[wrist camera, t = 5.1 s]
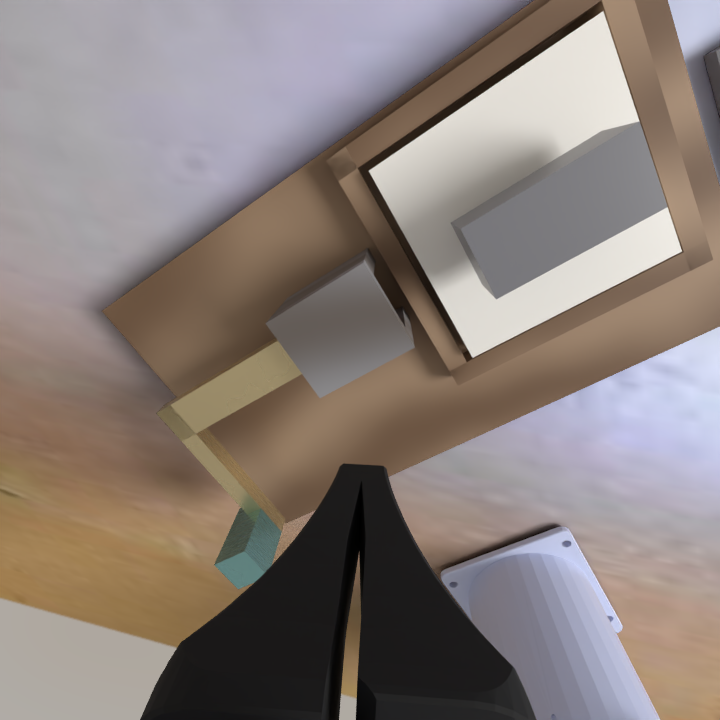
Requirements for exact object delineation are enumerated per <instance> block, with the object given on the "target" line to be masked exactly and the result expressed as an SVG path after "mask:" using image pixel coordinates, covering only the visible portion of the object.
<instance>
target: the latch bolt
mask: <svg viewBox="0 0 720 720" xmlns="http://www.w3.org/2000/svg"><path fill="white" fill-rule="evenodd" d="M301 374H302V373H301V372H300V370H299V369H298V368H297V366H296V365H295V363H294V362H293V361H292V359H291V358H290V357H289V355H288V354H287V352H286V351H285V350H284V348H283V347H282V346H281V344H280V343H279V341H278V340H277V339H276V338H275V339H273V340H271V341H270V342H268V343H266V344H265V345H263V346H261V347H260V348H258V349H256V350H255V351H253V352H251V353H250V354H248V355H246V356H245V357H243V358H241V359H240V360H238V361H236V362H235V363H233V364H231V365H230V366H228V367H226V368H225V369H223V370H221V371H220V372H218V373H216V374H215V375H213V376H211V377H210V378H208V379H206V380H205V381H203V382H201V383H200V384H198V385H196V386H195V387H193V388H191V389H190V390H188V391H187V392H185V393H183V394H182V395H180V396H178V397H177V398H175V399H173V400H172V401H170V402H168V403H167V404H165V405H164V406H163V407H162V408H161V409H160V410H159V411H158V412H157V413H156V414H157V415H158V416H159V417H160V418H161V419H162V420H163V421H164V422H165V424H166V425H167V426H168V427H169V428H170V429H171V430H172V431H173V432H174V434H175V435H176V436H177V437H178V438H179V439H180V440H181V441H182V442H183V444H184V445H185V446H186V447H187V448H188V449H189V450H190V451H191V453H192V454H193V455H194V456H195V457H196V458H197V459H198V460H199V461H200V463H201V464H202V465H203V466H204V467H205V468H206V469H207V470H208V471H209V473H210V474H211V475H212V476H213V477H214V478H215V479H216V480H217V481H218V483H219V484H220V485H221V486H222V487H223V488H224V489H225V490H226V491H227V493H228V494H229V495H230V496H231V497H232V498H233V499H234V500H235V501H236V503H237V504H238V505H239V506H240V507H241V508H240V509H239V511H238V514H237V516H236V518H235V520H234V522H233V525H232V527H231V529H230V531H229V533H228V536H227V538H226V540H225V542H224V544H223V547H222V549H221V551H220V553H219V556H218V558H217V560H216V562H215V564H214V565H215V566H216V567H217V568H218V569H219V570H220V571H221V572H222V573H223V574H224V575H225V576H226V577H227V578H228V579H229V580H230V581H231V582H232V583H233V584H234V585H235V586H236V587H237V588H238V589H240V588H242V587H244V586H247V585H249V584H252V583H254V582H256V581H257V580H258V579H259V578H260V577H261V576H262V575H263V574H264V573H265V572H266V571H267V570H268V569H269V568H270V567H271V565H272V562H273V559H274V555H275V552H276V549H277V545H278V542H279V539H280V535H281V532H282V529H283V525H284V522H285V518H284V517H283V515H282V514H281V513H280V512H279V511H278V510H277V508H276V507H275V506H274V505H273V504H272V503H271V501H270V500H269V499H268V498H267V497H266V496H265V495H264V493H263V492H262V491H261V490H260V489H259V488H258V486H257V485H256V484H255V483H254V482H253V481H252V479H251V478H250V477H249V476H248V475H247V474H246V472H245V471H244V470H243V469H242V468H241V467H240V465H239V464H238V463H237V462H236V461H235V460H234V459H233V457H232V456H231V455H230V454H229V453H228V452H227V450H226V449H225V448H224V447H223V446H222V445H221V443H220V442H219V441H218V440H217V439H216V438H215V436H214V435H213V434H212V433H211V432H210V431H209V429H208V428H207V427H209V426H210V425H212V424H214V423H216V422H218V421H219V420H221V419H223V418H225V417H226V416H228V415H230V414H232V413H234V412H235V411H237V410H239V409H241V408H243V407H244V406H246V405H248V404H250V403H251V402H253V401H255V400H257V399H259V398H260V397H262V396H264V395H266V394H267V393H269V392H271V391H273V390H275V389H276V388H278V387H280V386H282V385H283V384H285V383H287V382H289V381H291V380H292V379H294V378H296V377H298V376H299V375H301Z"/></svg>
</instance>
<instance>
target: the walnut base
mask: <svg viewBox="0 0 720 720" xmlns="http://www.w3.org/2000/svg"><path fill="white" fill-rule="evenodd" d="M601 12H604V15H605V18H606V21H607V24H608V27H609V30H610V33H611V36H612V39H613V42H614V45H615V48H616V51H617V54H618V57H619V61H620V64H621V67H622V70H623V73H624V76H625V79H626V82H627V85H628V88H629V91H630V94H631V97H632V100H633V103H634V106H635V109H636V112H637V115H638V119H639V121H640V124H641V127H642V130H643V133H644V136H645V139H646V142H647V145H648V148H649V151H650V154H651V157H652V160H653V163H654V166H655V169H656V173H657V176H658V179H659V182H660V185H661V188H662V191H663V194H664V197H665V200H666V203H667V206H668V210H669V213H670V216H671V219H672V222H673V225H674V228H675V231H676V235H677V238H678V241H679V244H680V247H681V250H682V252H680V253H678V254H676V255H674V256H672V257H670V258H668V259H666V260H664V261H662V262H660V263H658V264H656V265H654V266H652V267H650V268H648V269H646V270H644V271H642V272H641V273H639V274H637V275H635V276H633V277H631V278H629V279H627V280H625V281H623V282H621V283H619V284H617V285H615V286H613V287H611V288H609V289H607V290H605V291H603V292H601V293H599V294H597V295H595V296H593V297H591V298H589V299H587V300H585V301H583V302H581V303H579V304H578V305H576V306H574V307H572V308H570V309H568V310H566V311H564V312H562V313H560V314H558V315H556V316H554V317H552V318H550V319H548V320H546V321H544V322H542V323H540V324H538V325H536V326H534V327H532V328H530V329H528V330H526V331H524V332H522V333H520V334H518V335H517V336H515V337H513V338H511V339H509V340H507V341H505V342H503V343H501V344H499V345H497V346H495V347H493V348H491V349H489V350H487V351H485V352H483V353H481V354H479V355H477V356H475V357H473V358H472V356H471V354H470V352H469V350H468V349H467V347H466V345H465V343H464V341H463V340H462V338H461V336H460V334H459V333H458V331H457V329H456V327H455V325H454V324H453V322H452V320H451V318H450V316H449V315H448V313H447V311H446V309H445V307H444V306H443V304H442V302H441V300H440V298H439V297H438V295H437V293H436V291H435V289H434V288H433V286H432V284H431V282H430V280H429V279H428V277H427V275H426V273H425V271H424V270H423V268H422V266H421V264H420V262H419V261H418V259H417V257H416V255H415V253H414V252H413V250H412V248H411V246H410V244H409V243H408V241H407V239H406V237H405V235H404V234H403V232H402V230H401V228H400V226H399V225H398V223H397V221H396V219H395V217H394V216H393V214H392V212H391V210H390V208H389V207H388V205H387V203H386V201H385V199H384V198H383V196H382V194H381V192H380V190H379V189H378V187H377V185H376V183H375V181H374V180H373V178H372V176H371V174H370V172H369V170H371V169H372V168H374V167H375V166H377V165H378V164H379V163H381V162H382V161H384V160H385V159H387V158H388V157H390V156H391V155H393V154H394V153H396V152H397V151H399V150H400V149H401V148H403V147H404V146H406V145H407V144H409V143H410V142H412V141H413V140H415V139H416V138H418V137H419V136H421V135H422V134H423V133H425V132H426V131H428V130H429V129H431V128H432V127H434V126H435V125H437V124H438V123H440V122H441V121H443V120H444V119H445V118H447V117H448V116H450V115H451V114H453V113H454V112H456V111H457V110H459V109H460V108H462V107H463V106H465V105H466V104H468V103H469V102H470V101H472V100H473V99H475V98H476V97H478V96H479V95H481V94H482V93H484V92H485V91H487V90H488V89H490V88H491V87H492V86H494V85H495V84H497V83H498V82H500V81H501V80H503V79H504V78H506V77H507V76H509V75H510V74H512V73H513V72H514V71H516V70H517V69H519V68H520V67H522V66H523V65H525V64H526V63H528V62H529V61H531V60H532V59H534V58H535V57H536V56H538V55H539V54H541V53H542V52H544V51H545V50H547V49H548V48H550V47H551V46H553V45H554V44H556V43H557V42H559V41H560V40H561V39H563V38H564V37H566V36H567V35H569V34H570V33H572V32H573V31H575V30H576V29H578V28H579V27H581V26H582V25H583V24H585V23H586V22H588V21H589V20H591V19H592V18H594V17H595V16H597V15H598V14H600V13H601ZM102 312H103V313H104V314H105V315H106V316H107V318H108V319H109V320H110V321H111V322H112V323H113V324H114V326H115V327H116V328H117V329H118V330H119V331H120V333H121V334H122V335H123V336H124V337H125V338H126V340H127V341H128V342H129V343H130V344H131V345H132V346H133V348H134V349H135V350H136V351H137V352H138V353H139V355H140V356H141V357H142V358H143V359H144V360H145V361H146V363H147V364H148V365H149V366H150V367H151V368H152V370H153V371H154V372H155V373H156V374H157V375H158V376H159V378H160V379H161V380H162V381H163V382H164V383H165V385H166V386H167V387H168V388H169V389H170V390H171V392H172V393H173V394H174V395H175V396H176V397H178V396H180V395H182V394H183V393H185V392H187V391H188V390H190V389H191V388H193V387H195V386H196V385H198V384H200V383H201V382H203V381H205V380H206V379H208V378H210V377H211V376H213V375H215V374H216V373H218V372H220V371H221V370H223V369H225V368H226V367H228V366H230V365H231V364H233V363H235V362H236V361H238V360H240V359H241V358H243V357H245V356H246V355H248V354H250V353H251V352H253V351H255V350H256V349H258V348H260V347H261V346H263V345H265V344H266V343H268V342H270V341H271V340H273V339H275V338H276V339H277V340H278V341H279V343H280V344H281V346H282V347H283V348H284V350H285V351H286V352H287V354H288V355H289V357H290V358H291V359H292V361H293V362H294V363H295V365H296V366H297V368H298V369H299V370H300V372H301V373H302V374H301V375H299V376H298V377H296V378H294V379H292V380H291V381H289V382H287V383H285V384H283V385H282V386H280V387H278V388H276V389H275V390H273V391H271V392H269V393H267V394H266V395H264V396H262V397H260V398H259V399H257V400H255V401H253V402H251V403H250V404H248V405H246V406H244V407H243V408H241V409H239V410H237V411H235V412H234V413H232V414H230V415H228V416H226V417H225V418H223V419H221V420H219V421H218V422H216V423H214V424H212V425H210V426H209V427H207V428H208V429H209V431H210V432H211V433H212V434H213V435H214V436H215V438H216V439H217V440H218V441H219V442H220V443H221V445H222V446H223V447H224V448H225V449H226V450H227V452H228V453H229V454H230V455H231V456H232V457H233V459H234V460H235V461H236V462H237V463H238V464H239V465H240V467H241V468H242V469H243V470H244V471H245V472H246V474H247V475H248V476H249V477H250V478H251V479H252V481H253V482H254V483H255V484H256V485H257V486H258V488H259V489H260V490H261V491H262V492H263V493H264V495H265V496H266V497H267V498H268V499H269V500H270V501H271V503H272V504H273V505H274V506H275V507H276V508H277V510H278V511H279V512H280V513H281V514H282V515H283V517H284V518H285V523H288V522H290V521H292V520H294V519H297V518H299V517H301V516H303V515H305V514H308V513H310V512H312V511H314V510H316V509H317V508H318V506H319V505H320V503H321V501H322V500H323V498H324V497H325V495H326V493H327V492H328V490H329V488H330V486H331V484H332V482H333V481H334V478H335V476H336V474H337V472H338V469H339V467H340V466H341V465H342V464H343V463H345V464H363V465H380V466H384V467H385V468H386V469H387V473H388V477H389V476H391V475H393V474H396V473H398V472H400V471H402V470H404V469H407V468H409V467H411V466H413V465H415V464H418V463H420V462H422V461H424V460H427V459H429V458H431V457H433V456H435V455H438V454H440V453H442V452H444V451H446V450H449V449H451V448H453V447H455V446H457V445H460V444H462V443H464V442H466V441H468V440H471V439H473V438H475V437H477V436H479V435H482V434H484V433H486V432H488V431H490V430H493V429H495V428H497V427H499V426H501V425H504V424H506V423H508V422H510V421H512V420H515V419H517V418H519V417H521V416H523V415H526V414H528V413H530V412H532V411H534V410H537V409H539V408H541V407H543V406H545V405H548V404H550V403H552V402H554V401H557V400H559V399H561V398H563V397H565V396H568V395H570V394H572V393H574V392H576V391H579V390H581V389H583V388H585V387H587V386H590V385H592V384H594V383H596V382H598V381H601V380H603V379H605V378H607V377H609V376H612V375H614V374H616V373H618V372H620V371H623V370H625V369H627V368H629V367H631V366H634V365H636V364H638V363H640V362H642V361H645V360H647V359H649V358H651V357H653V356H656V355H658V354H660V353H662V352H664V351H667V350H669V349H671V348H673V347H675V346H678V345H680V344H682V343H684V342H686V341H689V340H691V339H693V338H695V337H698V336H700V335H702V334H704V333H706V332H709V331H711V330H713V329H715V328H717V327H720V186H719V182H718V179H717V175H716V171H715V168H714V164H713V161H712V157H711V154H710V150H709V146H708V143H707V139H706V136H705V132H704V129H703V125H702V121H701V118H700V114H699V111H698V107H697V104H696V100H695V96H694V93H693V89H692V86H691V82H690V79H689V75H688V71H687V68H686V64H685V61H684V57H683V54H682V50H681V47H680V43H679V39H678V36H677V32H676V29H675V25H674V22H673V18H672V14H671V11H670V7H669V4H668V0H534V1H533V2H531V3H530V4H528V5H527V6H526V7H524V8H523V9H521V10H520V11H519V12H517V13H516V14H514V15H513V16H512V17H510V18H509V19H507V20H506V21H505V22H503V23H502V24H501V25H499V26H498V27H496V28H495V29H494V30H492V31H491V32H489V33H488V34H487V35H485V36H484V37H482V38H481V39H480V40H478V41H477V42H475V43H474V44H473V45H471V46H470V47H469V48H467V49H466V50H464V51H463V52H462V53H460V54H459V55H457V56H456V57H455V58H453V59H452V60H450V61H449V62H448V63H446V64H445V65H443V66H442V67H441V68H439V69H438V70H437V71H435V72H434V73H432V74H431V75H430V76H428V77H427V78H425V79H424V80H423V81H421V82H420V83H418V84H417V85H416V86H414V87H413V88H411V89H410V90H409V91H407V92H406V93H405V94H403V95H402V96H400V97H399V98H398V99H396V100H395V101H393V102H392V103H391V104H389V105H388V106H386V107H385V108H384V109H382V110H381V111H379V112H378V113H377V114H375V115H374V116H373V117H371V118H370V119H368V120H367V121H366V122H364V123H363V124H361V125H360V126H359V127H357V128H356V129H354V130H353V131H352V132H350V133H349V134H347V135H346V136H345V137H343V138H342V139H340V140H339V141H338V142H336V143H335V144H334V145H332V146H331V147H329V148H328V149H327V150H325V151H324V152H322V153H321V154H320V155H318V156H317V157H315V158H314V159H313V160H311V161H310V162H308V163H307V164H306V165H304V166H303V167H302V168H300V169H299V170H297V171H296V172H295V173H293V174H292V175H290V176H289V177H288V178H286V179H285V180H283V181H282V182H281V183H279V184H278V185H276V186H275V187H274V188H272V189H271V190H270V191H268V192H267V193H265V194H264V195H263V196H261V197H260V198H258V199H257V200H256V201H254V202H253V203H251V204H250V205H249V206H247V207H246V208H244V209H243V210H242V211H240V212H239V213H238V214H236V215H235V216H233V217H232V218H231V219H229V220H228V221H226V222H225V223H224V224H222V225H221V226H219V227H218V228H217V229H215V230H214V231H212V232H211V233H210V234H208V235H207V236H206V237H204V238H203V239H201V240H200V241H199V242H197V243H196V244H194V245H193V246H192V247H190V248H189V249H187V250H186V251H185V252H183V253H182V254H180V255H179V256H178V257H176V258H175V259H174V260H172V261H171V262H169V263H168V264H167V265H165V266H164V267H162V268H161V269H160V270H158V271H157V272H155V273H154V274H153V275H151V276H150V277H148V278H147V279H146V280H144V281H143V282H142V283H140V284H139V285H137V286H136V287H135V288H133V289H132V290H130V291H129V292H128V293H126V294H125V295H123V296H122V297H121V298H119V299H118V300H116V301H115V302H114V303H112V304H111V305H110V306H108V307H107V308H105V309H104V310H103V311H102Z"/></svg>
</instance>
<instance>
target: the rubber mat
mask: <svg viewBox="0 0 720 720" xmlns="http://www.w3.org/2000/svg"><path fill="white" fill-rule="evenodd" d="M704 59H705V63H706V67H707V71H708V74H709V78H710V82H711V86H712V90H713V93H714V97H715V101H716V105H717V108H718V112H719V116H720V46H719V47H718V48H716V49H714V50H713V51H711V52H710V53H708V54H706V55H705V56H704Z"/></svg>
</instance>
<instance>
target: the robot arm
mask: <svg viewBox="0 0 720 720" xmlns="http://www.w3.org/2000/svg"><path fill="white" fill-rule="evenodd" d="M564 541H565V542H564ZM359 554H360V589H361V631H360V647H359V663H358V681H357V706H356V720H660V718H659V716H658V714H657V712H656V710H655V708H654V706H653V704H652V702H651V700H650V699H649V697H648V695H647V693H646V691H645V689H644V687H643V685H642V683H641V681H640V679H639V677H638V675H637V673H636V671H635V669H634V667H633V665H632V663H631V661H630V659H629V658H628V656H627V654H626V652H625V650H624V648H623V646H622V644H621V642H620V640H619V638H618V636H617V634H616V633H618V632H620V631H621V630H622V628H623V626H622V624H621V622H620V620H619V618H618V617H617V615H616V613H615V611H614V609H613V608H612V606H611V604H610V602H609V600H608V599H607V597H606V595H605V593H604V591H603V590H602V588H601V586H600V584H599V582H598V581H597V579H596V577H595V575H594V573H593V572H592V570H591V568H590V566H589V564H588V563H587V561H586V559H585V557H584V555H583V554H582V552H581V550H580V548H579V546H578V545H577V543H576V541H575V539H574V537H573V536H572V534H571V532H570V530H569V529H568V528H566V527H557V528H554V529H551V530H549V531H546V532H543V533H540V534H538V535H535V536H532V537H530V538H527V539H524V540H522V541H519V542H516V543H514V544H511V545H508V546H506V547H503V548H500V549H498V550H495V551H492V552H490V553H487V554H484V555H481V556H479V557H476V558H473V559H471V560H468V561H465V562H463V563H460V564H457V565H455V566H452V567H449V568H447V569H444V570H443V571H442V572H441V580H442V582H443V583H444V585H445V586H446V587H447V589H448V590H449V592H450V593H451V594H452V596H453V597H454V598H455V600H456V601H457V602H458V604H459V605H460V606H461V608H462V609H463V610H464V612H465V613H466V615H467V616H468V617H469V618H468V617H467V616H466V615H465V613H464V612H463V611H462V609H461V608H460V607H459V606H458V604H457V603H456V602H455V600H454V599H453V598H452V597H451V595H450V594H449V593H448V591H447V590H446V589H445V587H444V586H443V585H442V583H441V582H440V580H439V579H438V577H437V576H436V574H435V573H434V572H433V570H432V568H431V567H430V565H429V564H428V562H427V561H426V559H425V557H424V556H423V554H422V552H421V551H420V549H419V547H418V545H417V544H416V542H415V540H414V538H413V536H412V534H411V532H410V530H409V528H408V526H407V524H406V522H405V520H404V518H403V516H402V513H401V511H400V509H399V507H398V504H397V502H396V499H395V497H394V494H393V491H392V488H391V485H390V482H389V478H388V473H387V469H386V468H385V467H384V466H380V465H363V464H345V463H343V464H342V465H341V466H340V467H339V469H338V472H337V474H336V476H335V478H334V481H333V482H332V484H331V486H330V488H329V490H328V492H327V493H326V495H325V497H324V498H323V500H322V501H321V503H320V505H319V506H318V508H317V509H316V511H315V512H314V514H313V515H312V517H311V518H310V519H309V521H308V522H307V524H306V525H305V526H304V528H303V529H302V531H301V532H300V533H299V534H298V536H297V537H296V538H295V540H294V541H293V542H292V543H291V544H290V546H289V547H288V548H287V549H286V550H285V551H284V553H283V554H282V555H281V556H280V557H279V558H278V559H277V560H276V561H275V562H274V563H273V565H272V566H271V567H270V568H269V569H268V570H267V571H266V572H265V573H264V574H263V575H262V576H261V577H260V578H259V579H258V580H257V581H256V582H255V583H254V584H253V585H252V586H250V587H249V588H248V589H247V590H246V591H245V592H244V593H242V594H241V595H240V596H239V597H238V598H237V599H236V600H235V601H233V602H232V603H231V604H230V605H229V606H228V607H227V608H225V609H224V610H223V611H222V612H220V613H219V614H218V615H217V616H215V617H214V618H213V619H211V620H210V621H209V622H207V623H206V624H205V625H203V626H202V627H201V628H200V629H198V630H197V631H196V632H194V633H193V634H192V635H190V636H189V637H188V638H186V639H185V640H183V641H182V642H181V643H180V645H179V646H178V648H177V649H176V651H175V652H174V654H173V656H172V657H171V659H170V660H169V662H168V664H167V666H166V668H165V669H164V671H163V673H162V674H161V676H160V678H159V680H158V682H157V683H156V685H155V687H154V690H153V692H152V694H151V697H150V699H149V701H148V703H147V705H146V708H145V710H144V712H143V715H142V717H141V719H140V720H339V710H340V698H341V686H342V673H343V660H344V648H345V638H346V630H347V622H348V616H349V610H350V604H351V598H352V592H353V586H354V579H355V573H356V567H357V561H358V555H359ZM471 621H472V622H471Z"/></svg>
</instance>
